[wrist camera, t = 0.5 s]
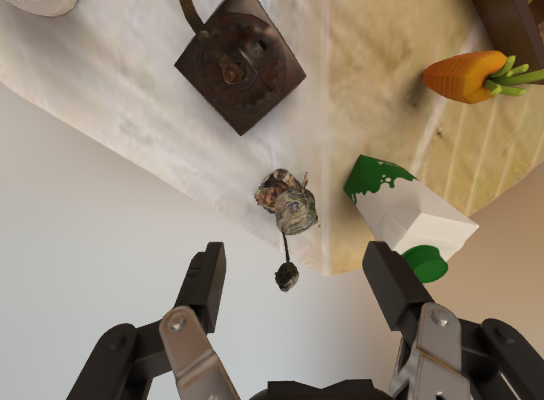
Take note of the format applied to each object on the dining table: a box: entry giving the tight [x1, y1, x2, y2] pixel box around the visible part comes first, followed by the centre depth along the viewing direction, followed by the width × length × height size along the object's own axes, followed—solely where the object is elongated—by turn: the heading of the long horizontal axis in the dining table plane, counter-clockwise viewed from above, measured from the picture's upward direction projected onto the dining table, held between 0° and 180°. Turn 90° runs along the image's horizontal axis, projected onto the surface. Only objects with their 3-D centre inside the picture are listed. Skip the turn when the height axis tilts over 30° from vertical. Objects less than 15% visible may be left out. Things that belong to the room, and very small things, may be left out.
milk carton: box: [344, 155, 479, 283], centre depth 32 cm, size 9×9×20 cm
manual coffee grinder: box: [174, 0, 306, 136], centre depth 22 cm, size 16×11×18 cm
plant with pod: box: [254, 169, 320, 292], centre depth 33 cm, size 8×11×20 cm
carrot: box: [422, 51, 544, 104], centre depth 25 cm, size 5×5×15 cm
